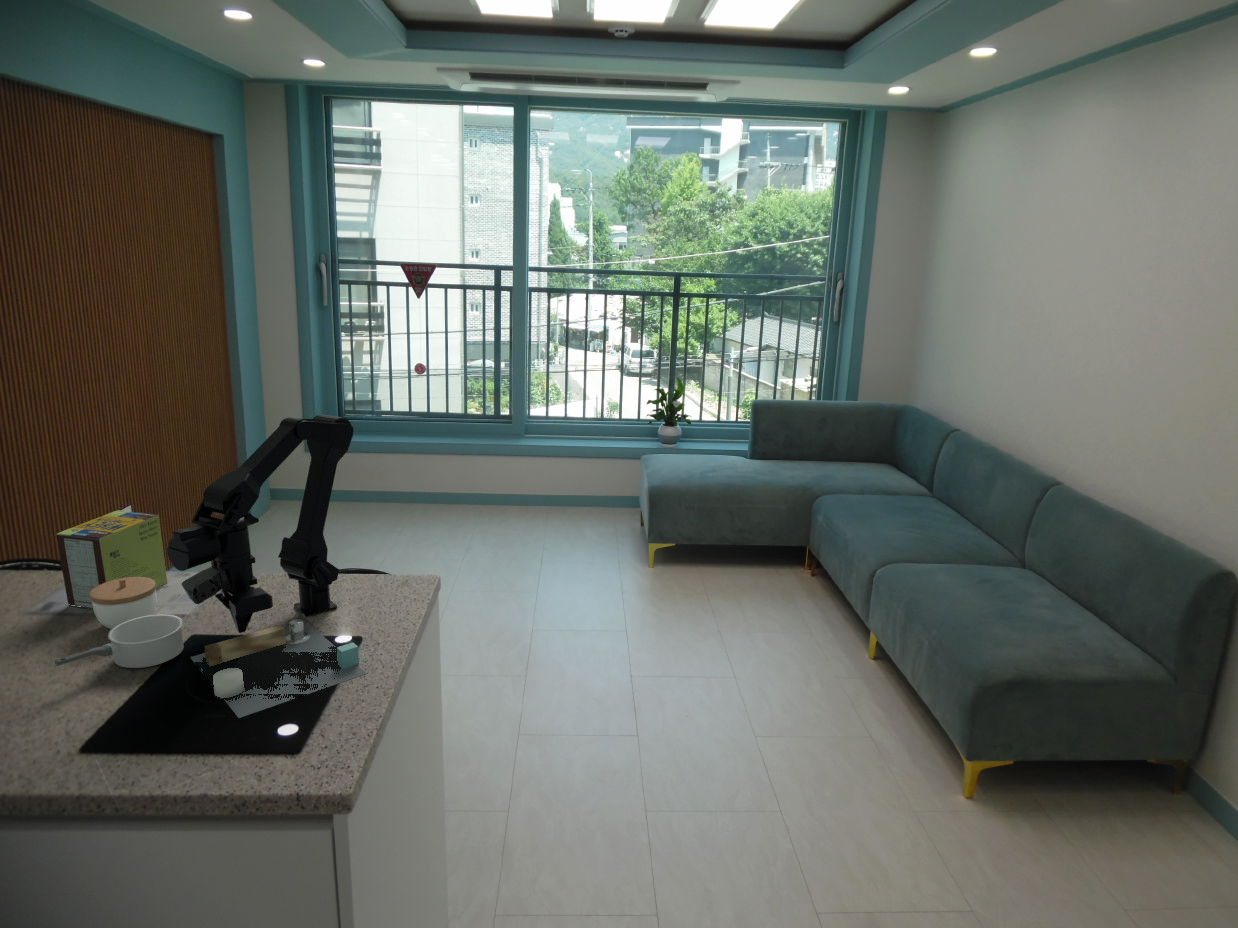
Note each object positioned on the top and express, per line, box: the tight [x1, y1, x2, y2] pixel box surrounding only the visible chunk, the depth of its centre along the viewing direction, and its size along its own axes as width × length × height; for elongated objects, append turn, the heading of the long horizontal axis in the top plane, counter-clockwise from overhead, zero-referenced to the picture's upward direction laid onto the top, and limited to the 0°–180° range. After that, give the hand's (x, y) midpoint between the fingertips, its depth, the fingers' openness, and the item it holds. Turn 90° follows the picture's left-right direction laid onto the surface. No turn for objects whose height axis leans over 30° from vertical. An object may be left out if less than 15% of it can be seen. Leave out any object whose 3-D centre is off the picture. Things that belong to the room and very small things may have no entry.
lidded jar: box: [90, 577, 158, 631], centre depth 154 cm, size 11×11×9 cm
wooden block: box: [204, 624, 286, 667], centre depth 145 cm, size 13×2×3 cm, turn 132°
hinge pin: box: [285, 618, 310, 644], centre depth 151 cm, size 4×4×4 cm
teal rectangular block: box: [336, 641, 360, 669], centre depth 142 cm, size 2×3×4 cm, turn 132°
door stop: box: [212, 668, 244, 699], centre depth 133 cm, size 4×4×3 cm
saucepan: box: [54, 613, 185, 669], centre depth 140 cm, size 12×20×6 cm, turn 147°
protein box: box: [55, 509, 168, 610], centre depth 167 cm, size 10×15×16 cm
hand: (241, 631), depth 149 cm, fingers closed
